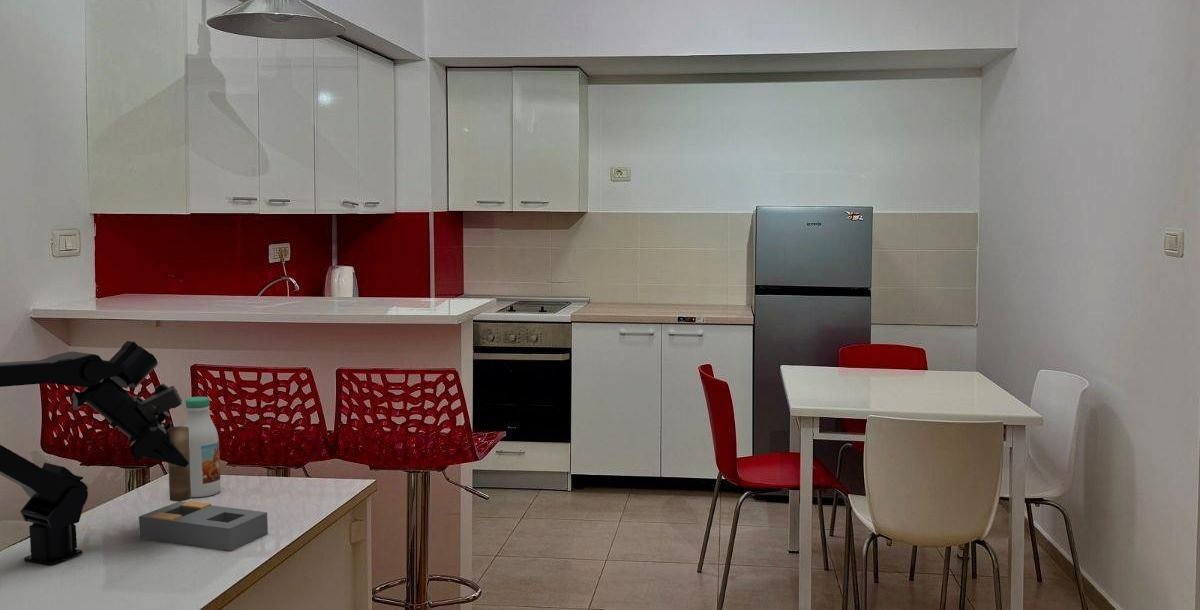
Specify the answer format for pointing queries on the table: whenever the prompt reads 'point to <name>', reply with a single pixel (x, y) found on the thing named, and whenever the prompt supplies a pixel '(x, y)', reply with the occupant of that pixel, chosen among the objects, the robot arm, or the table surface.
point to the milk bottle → (202, 448)
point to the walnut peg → (179, 474)
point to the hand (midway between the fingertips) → (187, 462)
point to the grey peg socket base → (203, 525)
